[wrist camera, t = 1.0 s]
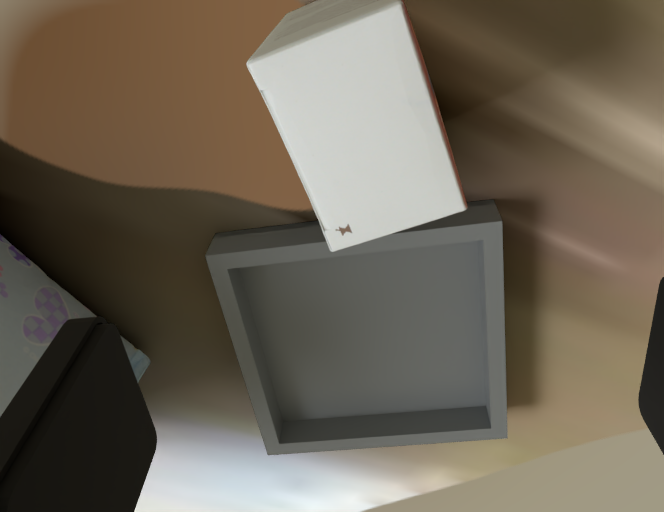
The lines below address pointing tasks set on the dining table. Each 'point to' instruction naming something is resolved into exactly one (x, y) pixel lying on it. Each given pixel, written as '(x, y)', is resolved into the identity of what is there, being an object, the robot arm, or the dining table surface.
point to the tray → (369, 332)
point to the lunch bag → (35, 320)
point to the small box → (359, 118)
